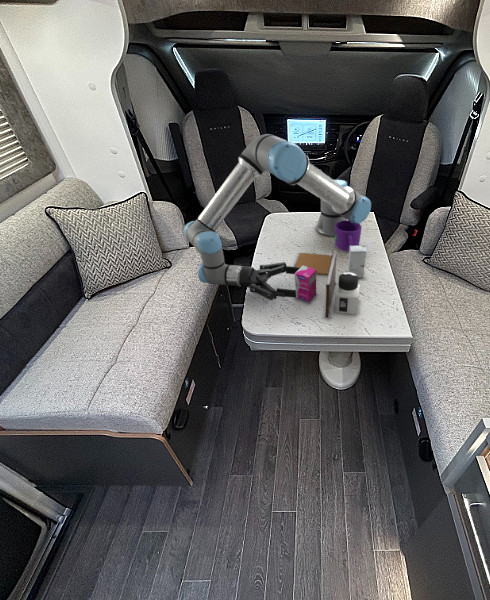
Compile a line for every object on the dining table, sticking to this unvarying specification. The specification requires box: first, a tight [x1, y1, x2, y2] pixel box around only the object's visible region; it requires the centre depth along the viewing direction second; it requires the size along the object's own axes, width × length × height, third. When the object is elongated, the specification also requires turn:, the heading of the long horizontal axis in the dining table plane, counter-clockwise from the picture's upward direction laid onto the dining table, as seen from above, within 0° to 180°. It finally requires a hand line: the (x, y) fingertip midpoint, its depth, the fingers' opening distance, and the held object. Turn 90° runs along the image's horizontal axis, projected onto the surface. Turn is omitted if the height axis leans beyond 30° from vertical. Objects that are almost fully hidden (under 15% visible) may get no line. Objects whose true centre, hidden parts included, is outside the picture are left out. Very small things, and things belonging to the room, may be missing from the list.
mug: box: [334, 220, 362, 254], centre depth 147 cm, size 17×11×10 cm, turn 3°
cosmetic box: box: [347, 245, 367, 279], centre depth 132 cm, size 6×4×12 cm
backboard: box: [324, 251, 338, 319], centre depth 119 cm, size 20×1×14 cm, turn 171°
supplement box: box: [294, 265, 317, 304], centre depth 121 cm, size 6×6×12 cm
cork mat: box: [294, 252, 333, 276], centre depth 141 cm, size 14×14×1 cm
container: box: [333, 272, 361, 315], centre depth 116 cm, size 8×8×13 cm
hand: (299, 282), depth 120 cm, fingers open, 13 cm apart
